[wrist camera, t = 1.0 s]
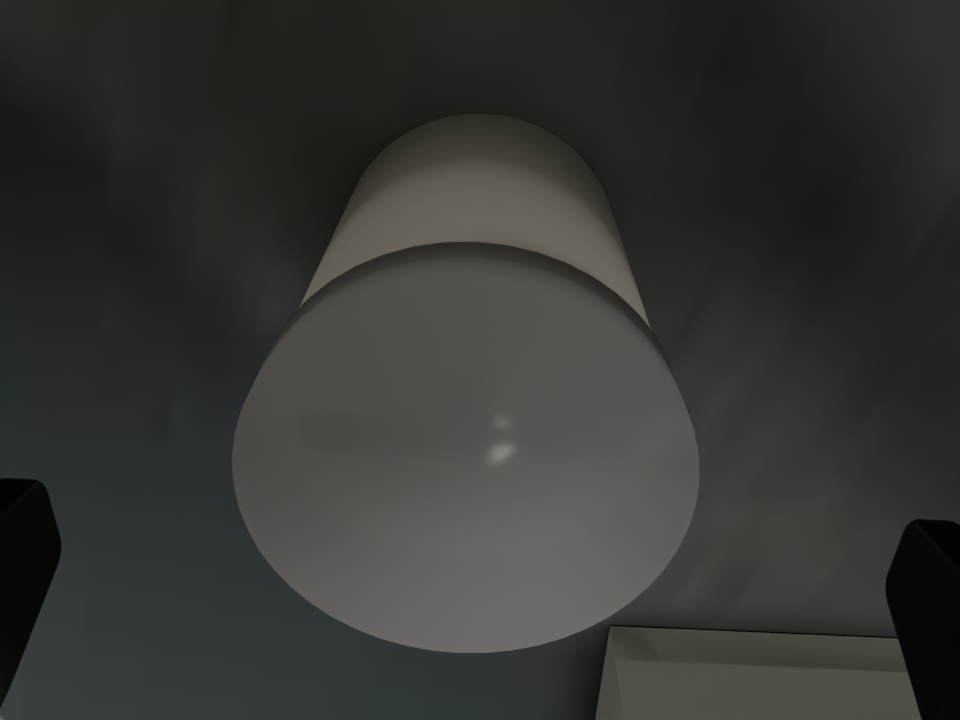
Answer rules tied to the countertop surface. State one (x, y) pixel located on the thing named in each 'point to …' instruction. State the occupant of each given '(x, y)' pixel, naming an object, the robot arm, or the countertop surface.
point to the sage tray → (752, 677)
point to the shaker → (469, 404)
